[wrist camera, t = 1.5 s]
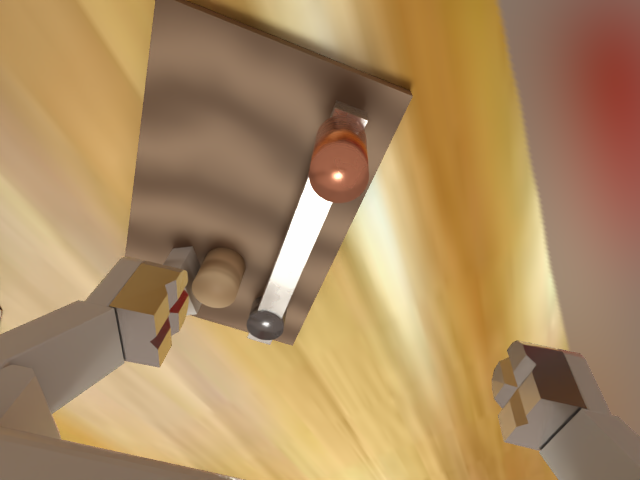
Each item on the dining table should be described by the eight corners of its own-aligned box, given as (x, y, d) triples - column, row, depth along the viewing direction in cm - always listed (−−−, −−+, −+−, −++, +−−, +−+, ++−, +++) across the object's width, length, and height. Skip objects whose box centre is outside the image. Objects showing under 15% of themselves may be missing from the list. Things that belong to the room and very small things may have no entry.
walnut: (240, 285, 42) (230, 313, 39) (201, 273, 42) (188, 300, 38) (250, 255, 40) (240, 282, 37) (209, 242, 39) (196, 268, 36)
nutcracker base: (294, 335, 48) (287, 375, 43) (127, 285, 45) (101, 321, 41) (410, 90, 32) (419, 112, 27) (164, -9, 29) (130, -3, 25)
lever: (279, 329, 44) (265, 397, 37) (246, 319, 44) (226, 387, 37) (374, 113, 31) (380, 157, 24) (328, 95, 30) (321, 135, 24)
